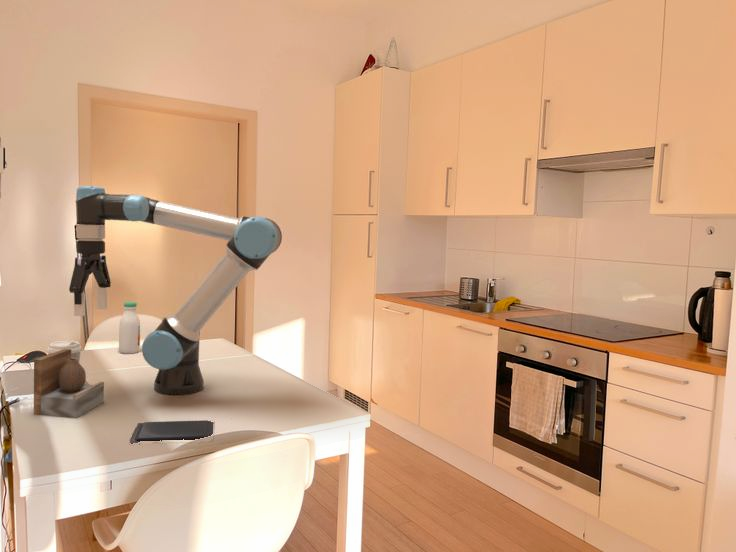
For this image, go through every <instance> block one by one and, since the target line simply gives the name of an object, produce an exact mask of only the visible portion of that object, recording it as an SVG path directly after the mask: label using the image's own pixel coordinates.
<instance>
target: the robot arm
mask: <svg viewBox="0 0 736 552" xmlns="http://www.w3.org/2000/svg"><path fill="white" fill-rule="evenodd" d="M75 195H76V196H75V209H76V211H75V212H76V213H75V214H76V215H75V216H76V228H75V231H76V238H77V239H78V240H77V241H76V242H75V243H76V245H75V246H76V247H75V249H76V253H77V254H81V257H78V256H77V257H75V258H74V266H73V267H74V268H73V271H72V276H71V279H70V282H69V283H70V284H69V288H68V291H69V293H72V294H73V313H74V316H75V317H84V316H86V293H85V292H84V290H85V288H86V285H87V282H88V280H89V278H90V275H91V274H93V277H94V279H95V281H96V283H97V286H98V287H96V309H97V310H107V309H108V288H111V286H112V285H111V283H112V282H111V278H110V274H109V269H108V264H107V258H106V255H104V254H105V253H106V242H105V241H104V240H105V239H106V221H123V222H125V221H126V222H143V223H147V224H152V225H157V226H160V227H161V226H162V227H166V228H170V229H175V230H180V231H183V232H188V233H193V234H197V235H202V236H204V237H205V236H206V237H210V238H216V239H218V240H219V239H220V240H224V241H227V243H226V244H225V249H226V251H225V254H224V255H223V256H222V257H221V258H220V260H219V261H218V262H217V263H216V264H215V266H214V267H213V268H212V269H211V271H210V272H209V273H208V274H207V275H206V277H205V278H204V279H203V280H202V282H200V284H199V285H198V287H197V288H195V289H194V291H193V292H192V294H190V296H189V297H188V298H187V299H186V301H185V302H184V303H183V304H182V305H181V307H180V308H179V309H178V310H177V311H176V313H174V314H167V316H166V317H163V318H162V320H161V322H160V323H159V325H158V326H157V327H156V328H155V329H154V330H153V331H152V332H150V333H148V334H147V336H146V337H145V338H144V340H143V342H142V345H141V353H142V356H143V359H144V360H145V361H146V363H147V364H148V365H149V366H150V367H153V369H157V370H158V371H157V374H156V376H155V380H154V382H153V383H154V384H153V389H154V391H155V392H157V393H160V394H164V395H187V394H193V393H197V392H199V390H200V391H201V389H202V390H203V389H204V383H205V382H204V381H205V380H204V377H203V375H202V371H201V368H200V361H199V359H200V338H201V337H200V335H201V333H200V332H201V330H202V329H203V328H204V326H205V325H206V324H207V323H208V322H209V321H210V319H211V318H212V317H213V316H214V314H215V313H216V312H217V311H218V309H220V307H221V306H222V305H223V303H224V302H225V301H226V300H227V299H228V297H229V296H231V294H232V293H233V291H234V290H235V289H236V288H237V287H238V285H239V284H240V283H241V282H242V281H243V279H244V278H246V276H247V275H248V273H249V272H251V271H258V269H259V268H260V267H261V266H262V265H263V264H264V262H265V261H266V260H267V259H268V258H269V256H270V255H271V254H273V253H275V252H276V251H277V250H278V249H279V247H280V246H281V243H282V240H283V239H282V238H283V235H282V230H281V227H280V226H279V224H278V223H276V222H275V221H274V220H272V219H270V218H267V217H262V216H252V217H249V216H244V215H242V216H240V217H235V216H234V217H233V216H231V215H230V216H229V215H227V214H226V215H225V214H220V213H217V212H211V211H206V210H202V209H198V208H194V207H189V206H184V205H180V204H176V203H171V202H166V201H163V200H158V199H154V198H150V197H146V196H144V195H139V194H111V193H106V189H105V187H103V186H94V185H93V186H90V185H88V186H87V185H82V186H81V185H80V186H78V187H77V188H76V194H75ZM102 254H103V255H102Z"/></svg>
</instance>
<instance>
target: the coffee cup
mask: <svg viewBox="0 0 736 552" xmlns="http://www.w3.org/2000/svg"><path fill="white" fill-rule="evenodd" d="M63 349H71V359H77V360H78V362H79V363H80V358H81V352H83V348H82V345H80V342H79V341H75V340H60V341H53V342H51V343H50V344H49V346H48V347H47V349H46V353H48V354H51V353H54V352H57V351H60V350H63ZM48 354H47V355H48Z"/></svg>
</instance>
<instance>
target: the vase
mask: <svg viewBox="0 0 736 552" xmlns="http://www.w3.org/2000/svg"><path fill="white" fill-rule="evenodd" d="M86 379H87V375H86V370H85V368H84V367H83V366H82V364H80V361H79V362H78V360H77V359H68V360H67V362H66V364H65V365H64V366H63V367H62V368H61V370H60V372H59V375H58V383H59V386H60V388H61V389H62V390H63V391H64V392H77V391H79V390H80V389H81V388H82V387H83V386H84V384H86Z"/></svg>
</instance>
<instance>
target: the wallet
mask: <svg viewBox="0 0 736 552" xmlns="http://www.w3.org/2000/svg"><path fill="white" fill-rule="evenodd" d="M211 421H212V420H206V419H205V420H204V419H203V420H176V421H175V420H174V421H170V420H169V421H167V420H166V421H144V422H138V423H137V425H136V426H137V427H136V426H135V428H134V431H133V432H132V434H131V436H132V437H131V436H130V439H129V441H130V443H131V444H133V443H138V442H140V441H160V440H161V441H162V440H183V439H184V440H195V439H200V438H204V437H208V436H211V435H212V434H213V422H211Z"/></svg>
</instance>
